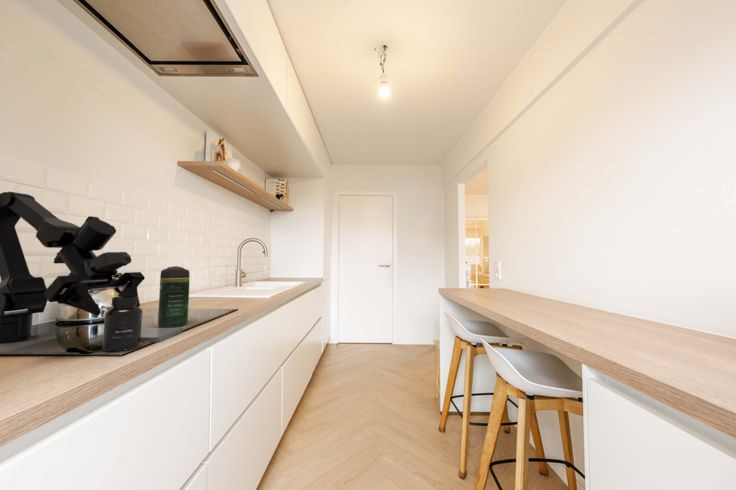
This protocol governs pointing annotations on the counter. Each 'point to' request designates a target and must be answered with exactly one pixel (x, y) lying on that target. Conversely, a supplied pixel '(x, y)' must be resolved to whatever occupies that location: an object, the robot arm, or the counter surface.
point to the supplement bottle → (122, 324)
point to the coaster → (158, 334)
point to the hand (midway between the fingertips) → (119, 310)
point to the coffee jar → (173, 297)
